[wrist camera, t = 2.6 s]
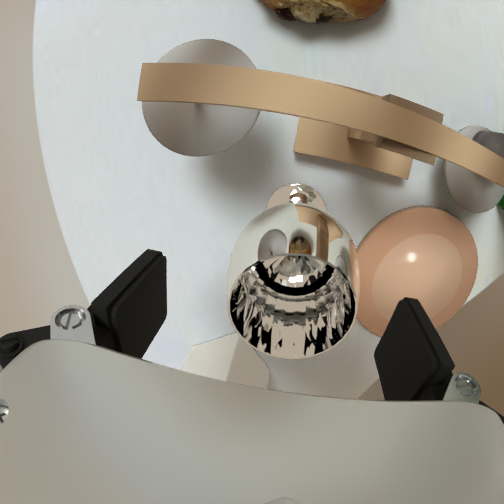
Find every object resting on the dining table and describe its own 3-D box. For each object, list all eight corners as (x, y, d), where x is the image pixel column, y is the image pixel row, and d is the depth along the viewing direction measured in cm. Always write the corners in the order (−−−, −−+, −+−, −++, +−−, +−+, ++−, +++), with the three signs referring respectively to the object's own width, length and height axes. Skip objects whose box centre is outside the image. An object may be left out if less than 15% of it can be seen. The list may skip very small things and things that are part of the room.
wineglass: (350, 202, 20) (404, 291, 9) (307, 262, 22) (309, 385, 11) (282, 158, 19) (262, 200, 8) (243, 224, 22) (189, 326, 11)
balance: (491, 140, 15) (606, 175, 4) (475, 208, 18) (575, 283, 7) (196, 64, 17) (82, 14, 6) (185, 141, 20) (64, 171, 8)
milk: (240, 329, 26) (167, 572, 6) (270, 370, 28) (231, 581, 8) (190, 346, 28) (102, 543, 8) (222, 382, 30) (165, 564, 10)
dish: (488, 225, 18) (496, 231, 17) (438, 336, 23) (442, 344, 22) (371, 188, 19) (375, 192, 18) (330, 322, 24) (331, 331, 23)
